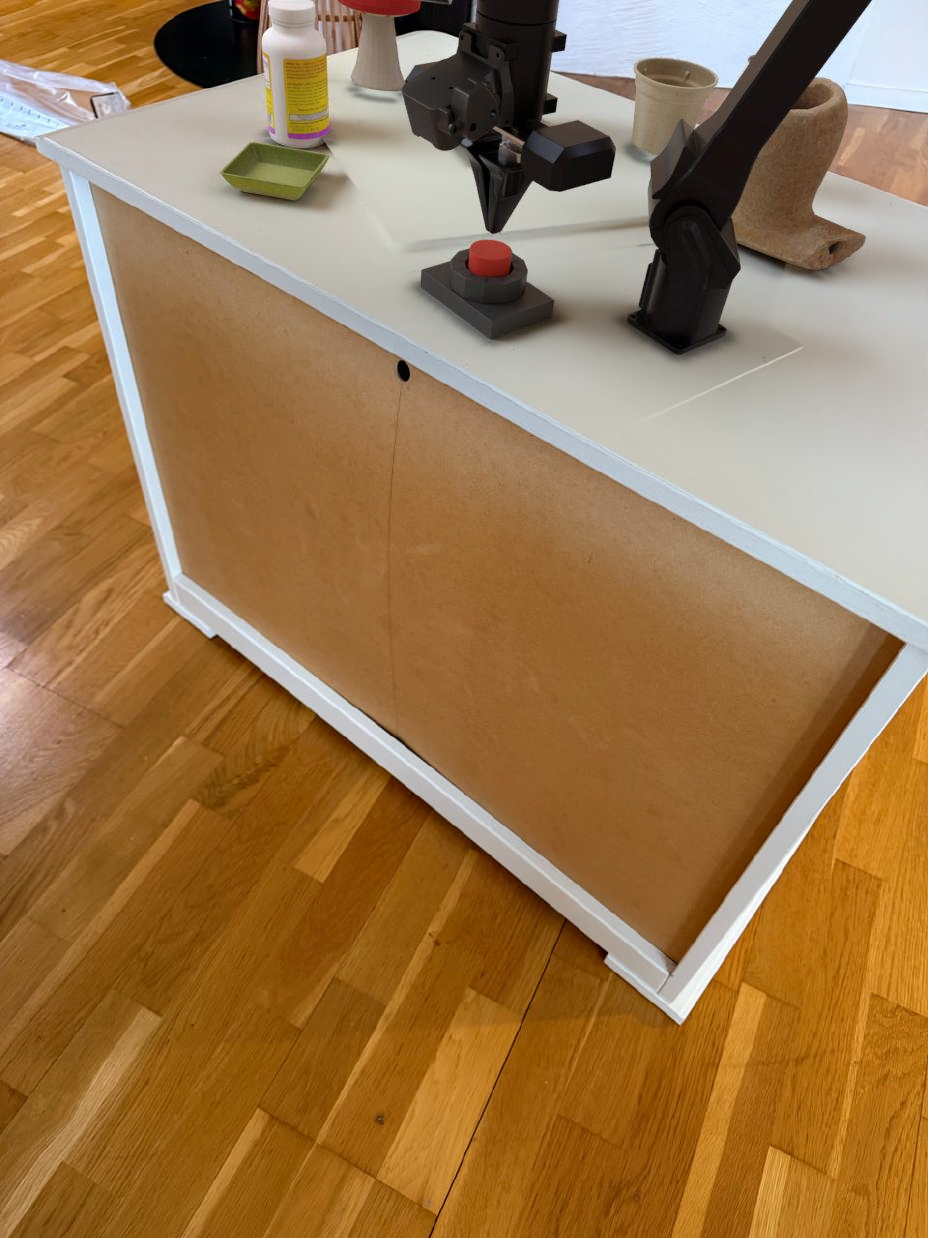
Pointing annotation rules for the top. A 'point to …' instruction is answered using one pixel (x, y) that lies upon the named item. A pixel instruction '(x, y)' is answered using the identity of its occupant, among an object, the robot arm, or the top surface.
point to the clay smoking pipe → (797, 185)
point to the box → (488, 295)
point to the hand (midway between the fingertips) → (493, 231)
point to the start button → (490, 258)
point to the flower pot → (667, 99)
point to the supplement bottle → (295, 75)
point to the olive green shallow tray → (274, 170)
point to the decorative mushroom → (379, 43)
